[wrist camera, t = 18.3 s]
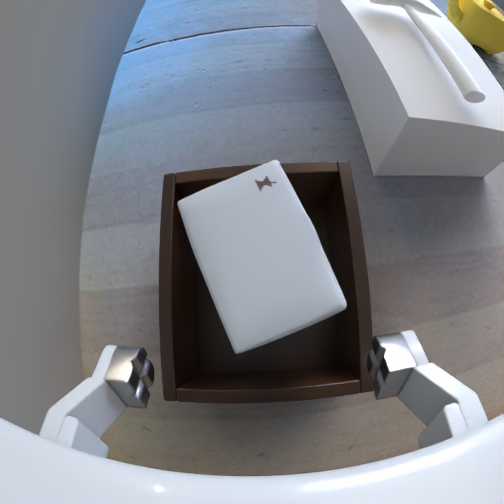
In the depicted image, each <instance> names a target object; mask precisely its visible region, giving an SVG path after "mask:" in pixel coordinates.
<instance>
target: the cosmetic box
mask: <svg viewBox="0 0 504 504" xmlns="http://www.w3.org/2000/svg"><path fill="white" fill-rule="evenodd" d="M178 208H179V211H180V214H181V217H182V220H183V223H184V226H185V229H186V232H187V235H188V238H189V241H190V244H191V247H192V249H193V252H194V255H195V257H196V260H197V262H198V264H199V267H200V269H201V272H202V274H203V276H204V279H205V281H206V284H207V286H208V289H209V291H210V294H211V296H212V299H213V301H214V304H215V306H216V309H217V311H218V314H219V316H220V318H221V321H222V323H223V326H224V328H225V330H226V333H227V335H228V338H229V340H230V342H231V344H232V347H233V350H234V352H235V353H237V354H239V353H242V352H245V351H248V350H251V349H254V348H256V347H259V346H262V345H264V344H267V343H270V342H272V341H275V340H277V339H280V338H282V337H284V336H287V335H289V334H292V333H294V332H297V331H299V330H301V329H304V328H306V327H308V326H311V325H313V324H315V323H317V322H320V321H322V320H324V319H326V318H328V317H331V316H333V315H335V314H337V313H339V312H341V311H343V310H345V309H346V306H347V304H346V300H345V297H344V295H343V293H342V291H341V288H340V286H339V284H338V282H337V279H336V277H335V275H334V273H333V271H332V268H331V266H330V264H329V262H328V259H327V257H326V255H325V253H324V250H323V248H322V246H321V243H320V240H319V238H318V235H317V233H316V230H315V228H314V226H313V224H312V222H311V220H310V218H309V217H308V215H307V214H306V212H305V210H304V208H303V206H302V204H301V202H300V200H299V199H298V197H297V195H296V193H295V191H294V189H293V187H292V185H291V183H290V182H289V180H288V178H287V176H286V174H285V172H284V170H283V169H282V167H281V165H280V163H279V162H278V161H277V160H273V161H270V162H268V163H265V164H263V165H261V166H258V167H256V168H253V169H251V170H249V171H246V172H244V173H241V174H239V175H237V176H234V177H232V178H230V179H227V180H225V181H222V182H220V183H217V184H215V185H213V186H210V187H208V188H206V189H203V190H201V191H199V192H197V193H194V194H192V195H190V196H188V197H186V198H184V199H182V200H180V201H178Z"/></svg>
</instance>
